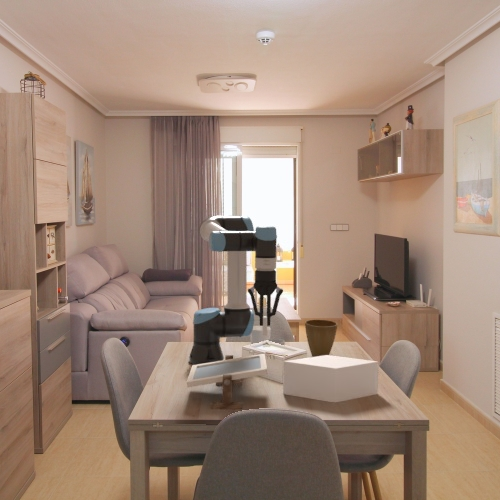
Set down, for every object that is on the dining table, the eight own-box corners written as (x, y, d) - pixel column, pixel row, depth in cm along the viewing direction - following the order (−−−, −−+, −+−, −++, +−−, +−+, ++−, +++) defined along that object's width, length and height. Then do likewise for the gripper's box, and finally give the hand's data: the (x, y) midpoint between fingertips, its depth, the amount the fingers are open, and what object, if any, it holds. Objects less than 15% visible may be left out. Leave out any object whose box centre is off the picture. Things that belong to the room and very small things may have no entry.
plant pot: (300, 359, 239) (300, 324, 237) (309, 351, 252) (309, 318, 251) (332, 362, 233) (333, 327, 232) (339, 354, 247) (340, 321, 246)
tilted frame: (187, 388, 180) (186, 382, 179) (193, 369, 201) (192, 364, 201) (268, 375, 180) (267, 369, 179) (265, 357, 201) (264, 352, 201)
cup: (274, 359, 237) (274, 337, 237) (288, 363, 232) (288, 341, 231) (262, 363, 232) (262, 340, 231) (275, 367, 226) (275, 344, 225)
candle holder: (263, 357, 241) (263, 331, 240) (245, 353, 246) (245, 328, 246) (274, 352, 250) (274, 327, 249) (256, 349, 255) (256, 324, 254)
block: (280, 386, 201) (281, 354, 200) (371, 386, 202) (372, 355, 202) (285, 402, 184) (285, 368, 183) (384, 403, 185) (385, 368, 184)
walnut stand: (212, 408, 177) (212, 376, 176) (216, 382, 204) (216, 354, 204) (241, 408, 177) (241, 377, 177) (241, 382, 204) (242, 355, 204)
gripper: (247, 270, 184) (246, 336, 185) (284, 270, 184) (283, 337, 186) (247, 268, 191) (246, 332, 193) (282, 268, 191) (282, 332, 193)
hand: (264, 334), depth 189 cm, fingers closed
